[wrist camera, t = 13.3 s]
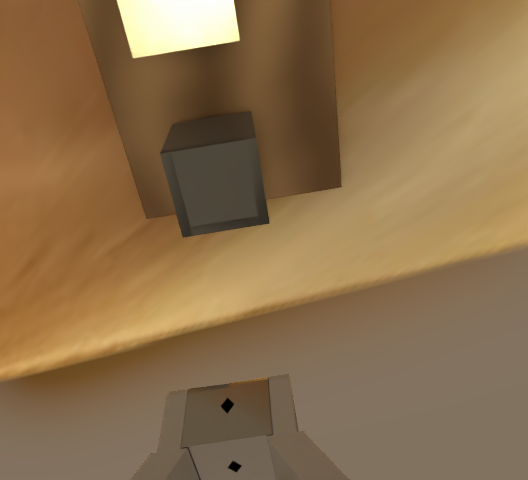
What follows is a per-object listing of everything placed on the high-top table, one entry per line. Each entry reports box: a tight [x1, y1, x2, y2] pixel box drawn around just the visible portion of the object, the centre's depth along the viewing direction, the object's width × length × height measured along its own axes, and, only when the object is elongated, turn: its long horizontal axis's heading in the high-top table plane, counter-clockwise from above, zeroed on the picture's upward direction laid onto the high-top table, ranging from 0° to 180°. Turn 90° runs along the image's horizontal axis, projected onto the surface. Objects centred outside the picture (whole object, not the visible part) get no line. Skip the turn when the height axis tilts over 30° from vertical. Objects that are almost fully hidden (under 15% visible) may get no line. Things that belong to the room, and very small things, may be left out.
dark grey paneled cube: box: [160, 111, 269, 237], centre depth 27 cm, size 5×5×6 cm
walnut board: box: [78, 0, 342, 219], centre depth 29 cm, size 15×19×1 cm
